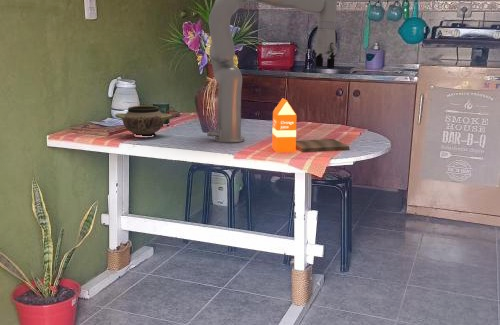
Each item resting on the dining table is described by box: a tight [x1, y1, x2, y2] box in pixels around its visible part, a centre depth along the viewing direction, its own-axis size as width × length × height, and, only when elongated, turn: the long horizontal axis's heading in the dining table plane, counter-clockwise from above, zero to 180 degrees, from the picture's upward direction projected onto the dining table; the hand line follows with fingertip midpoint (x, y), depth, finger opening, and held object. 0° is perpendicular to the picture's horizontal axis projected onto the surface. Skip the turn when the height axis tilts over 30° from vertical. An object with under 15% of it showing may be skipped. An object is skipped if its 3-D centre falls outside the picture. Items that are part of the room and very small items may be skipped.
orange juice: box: [271, 98, 297, 153], centre depth 233 cm, size 8×9×20 cm
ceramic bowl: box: [114, 105, 173, 136], centre depth 259 cm, size 24×18×15 cm
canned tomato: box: [152, 101, 171, 124], centre depth 288 cm, size 8×8×11 cm
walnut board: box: [296, 138, 350, 153], centre depth 241 cm, size 20×16×2 cm
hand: (324, 67), depth 256 cm, fingers open, 9 cm apart
